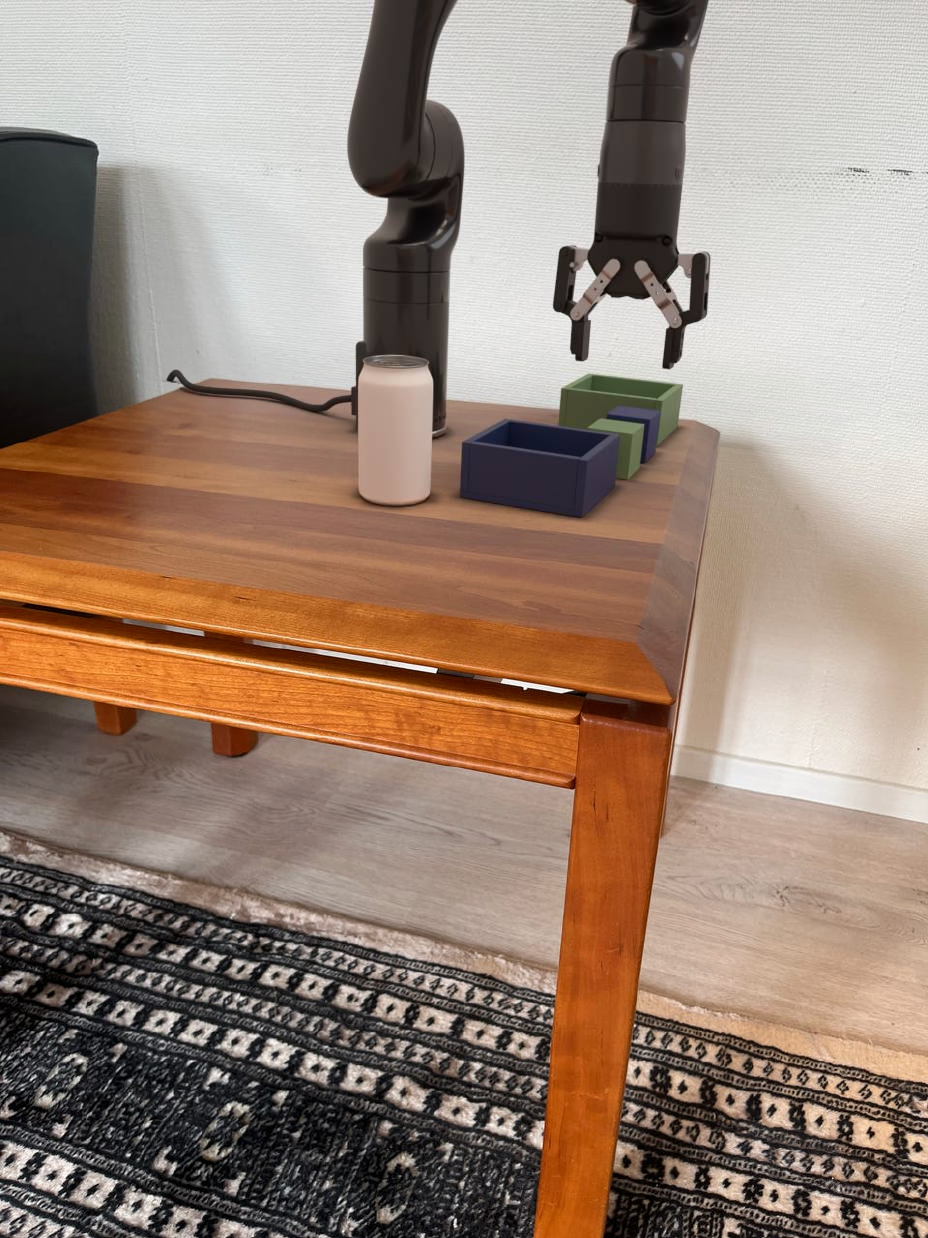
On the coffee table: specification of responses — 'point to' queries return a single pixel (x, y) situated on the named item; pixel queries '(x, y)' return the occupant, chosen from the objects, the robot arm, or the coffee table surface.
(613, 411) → the navy block
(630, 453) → the sage block
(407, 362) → the can
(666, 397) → the sage bin
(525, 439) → the navy bin
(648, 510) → the coffee table surface
